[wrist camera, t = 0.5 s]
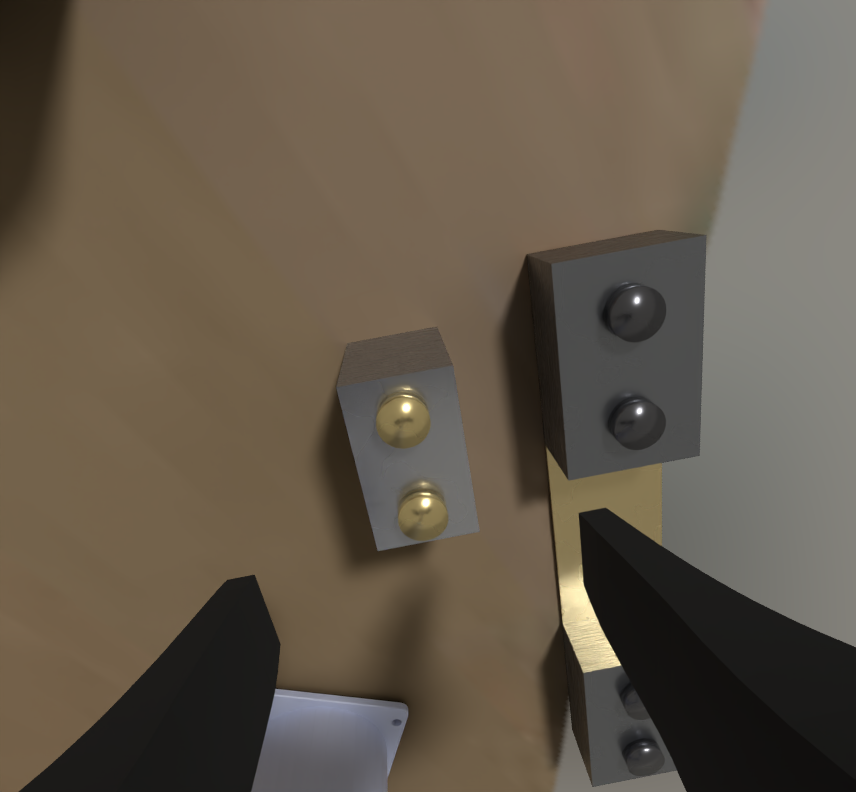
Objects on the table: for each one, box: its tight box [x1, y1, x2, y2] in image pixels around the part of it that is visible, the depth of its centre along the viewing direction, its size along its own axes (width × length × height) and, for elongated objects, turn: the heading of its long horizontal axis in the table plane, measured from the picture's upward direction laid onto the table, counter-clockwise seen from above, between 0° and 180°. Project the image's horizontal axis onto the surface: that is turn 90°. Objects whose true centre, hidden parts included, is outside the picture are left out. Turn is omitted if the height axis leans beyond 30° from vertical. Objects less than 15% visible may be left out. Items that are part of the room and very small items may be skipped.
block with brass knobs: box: [336, 327, 480, 551], centre depth 18 cm, size 6×4×6 cm, turn 10°
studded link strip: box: [527, 230, 706, 787], centre depth 22 cm, size 26×5×4 cm, turn 10°
